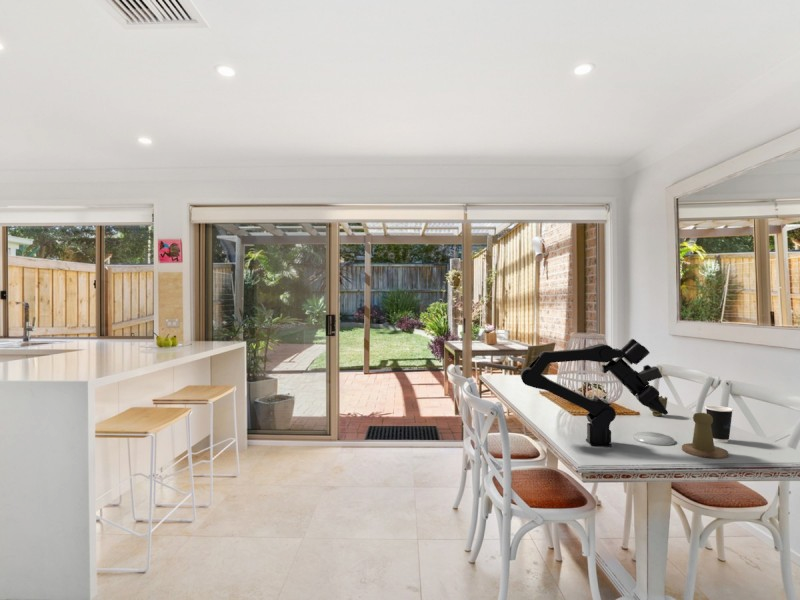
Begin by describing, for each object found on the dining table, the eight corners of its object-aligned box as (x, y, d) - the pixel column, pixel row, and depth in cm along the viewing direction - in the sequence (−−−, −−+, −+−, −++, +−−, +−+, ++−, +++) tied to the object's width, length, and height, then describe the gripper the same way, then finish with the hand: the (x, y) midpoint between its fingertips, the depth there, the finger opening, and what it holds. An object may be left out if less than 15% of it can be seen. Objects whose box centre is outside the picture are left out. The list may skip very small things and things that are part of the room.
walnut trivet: (694, 457, 137) (694, 454, 137) (674, 445, 149) (674, 442, 149) (737, 459, 136) (737, 455, 136) (714, 447, 147) (713, 443, 147)
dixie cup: (735, 445, 149) (735, 411, 150) (706, 441, 153) (706, 409, 153) (732, 439, 156) (731, 407, 156) (704, 436, 160) (703, 404, 160)
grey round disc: (681, 446, 149) (681, 443, 148) (642, 446, 150) (642, 443, 150) (664, 434, 160) (664, 432, 160) (628, 434, 162) (628, 431, 162)
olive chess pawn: (700, 444, 146) (700, 410, 147) (719, 450, 141) (719, 414, 141) (687, 446, 144) (686, 411, 145) (705, 452, 139) (705, 416, 139)
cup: (643, 414, 193) (642, 395, 193) (656, 413, 195) (656, 394, 195) (657, 418, 185) (657, 398, 186) (671, 417, 188) (671, 397, 188)
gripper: (650, 361, 139) (692, 399, 136) (639, 355, 157) (676, 389, 153) (622, 385, 142) (662, 424, 138) (614, 376, 159) (649, 410, 156)
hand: (663, 410), depth 146 cm, fingers open, 9 cm apart
